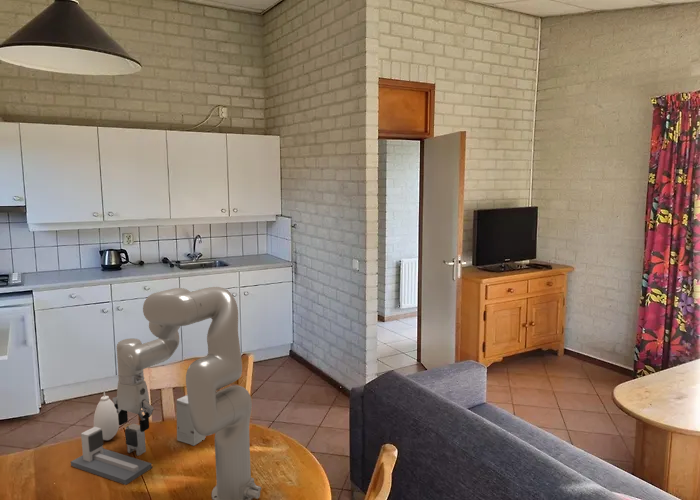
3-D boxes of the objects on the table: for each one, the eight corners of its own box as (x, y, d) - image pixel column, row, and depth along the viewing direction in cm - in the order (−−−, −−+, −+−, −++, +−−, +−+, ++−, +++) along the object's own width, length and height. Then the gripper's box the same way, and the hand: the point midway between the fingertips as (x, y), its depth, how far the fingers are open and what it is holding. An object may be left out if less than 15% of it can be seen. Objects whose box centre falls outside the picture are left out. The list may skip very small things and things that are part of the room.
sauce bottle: (111, 445, 178) (107, 395, 175) (90, 443, 179) (86, 393, 177) (124, 434, 186) (121, 385, 183) (104, 432, 187) (100, 384, 184)
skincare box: (176, 440, 181) (174, 399, 179) (189, 433, 186) (187, 393, 184) (195, 446, 177) (192, 404, 175) (207, 438, 182) (205, 397, 180)
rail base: (151, 467, 164) (149, 436, 163) (125, 484, 155) (123, 452, 154) (98, 451, 174) (96, 421, 173) (71, 466, 165) (68, 435, 164)
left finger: (134, 448, 176) (133, 423, 175) (145, 451, 174) (144, 426, 173) (126, 453, 173) (124, 428, 172) (137, 456, 171) (135, 431, 169)
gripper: (159, 378, 170) (162, 427, 172) (121, 368, 177) (124, 416, 180) (141, 386, 163) (144, 437, 166) (102, 376, 170) (105, 425, 173)
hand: (133, 426), depth 173 cm, fingers open, 9 cm apart
